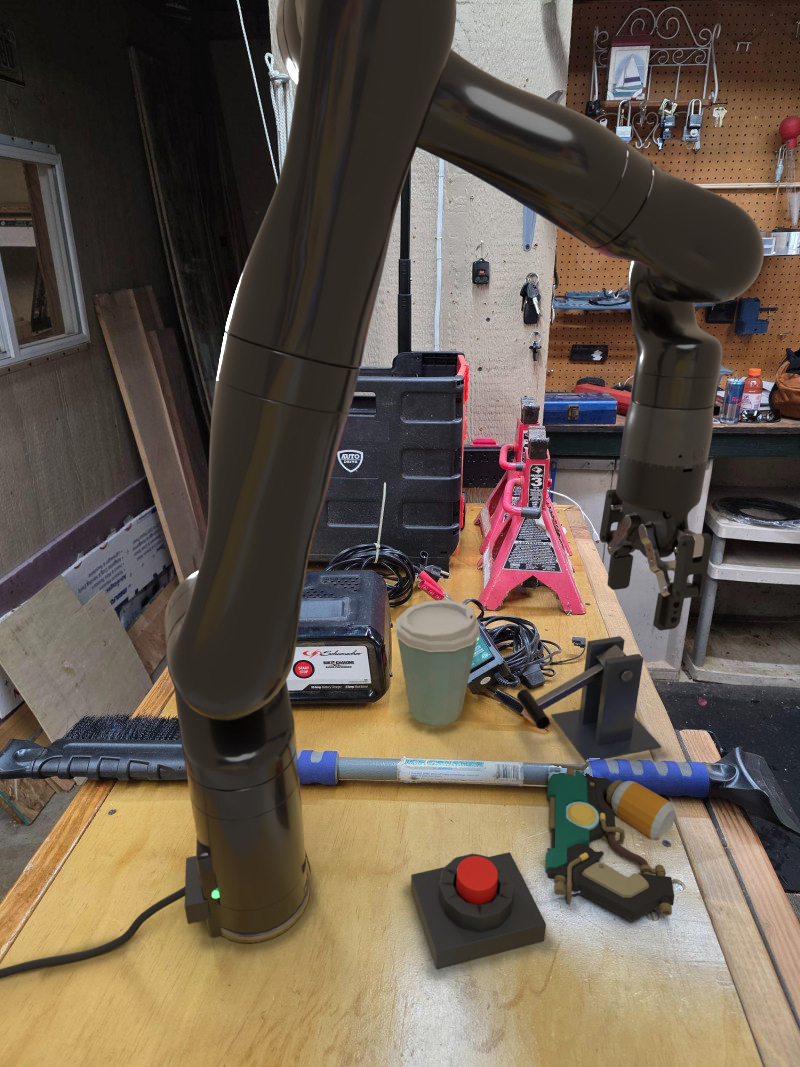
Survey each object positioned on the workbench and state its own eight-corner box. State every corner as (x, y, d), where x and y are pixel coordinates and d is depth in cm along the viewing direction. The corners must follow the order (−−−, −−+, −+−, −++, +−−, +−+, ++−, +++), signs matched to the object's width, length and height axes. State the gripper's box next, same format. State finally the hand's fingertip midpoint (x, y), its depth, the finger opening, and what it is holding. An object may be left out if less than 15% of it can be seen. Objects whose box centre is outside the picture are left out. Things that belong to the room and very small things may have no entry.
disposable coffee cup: (386, 734, 86) (384, 631, 80) (404, 685, 96) (403, 589, 90) (471, 746, 84) (475, 640, 78) (480, 694, 94) (484, 597, 88)
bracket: (584, 769, 80) (596, 677, 75) (550, 721, 88) (558, 635, 83) (660, 754, 83) (675, 663, 78) (619, 709, 91) (631, 624, 86)
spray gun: (665, 951, 60) (502, 888, 67) (690, 814, 73) (552, 772, 80) (669, 919, 58) (502, 857, 65) (694, 784, 72) (553, 743, 78)
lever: (540, 733, 79) (533, 719, 78) (520, 705, 84) (513, 691, 83) (639, 676, 79) (633, 661, 78) (613, 651, 84) (608, 637, 83)
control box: (436, 970, 58) (436, 937, 57) (410, 891, 65) (410, 860, 64) (544, 941, 61) (548, 909, 59) (508, 868, 68) (510, 837, 66)
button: (464, 908, 60) (465, 894, 59) (451, 874, 63) (451, 860, 62) (503, 899, 60) (504, 884, 60) (488, 866, 64) (488, 852, 63)
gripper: (588, 434, 68) (573, 580, 75) (674, 477, 56) (646, 648, 62) (655, 429, 70) (634, 573, 76) (753, 470, 57) (718, 638, 64)
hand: (640, 606), depth 69 cm, fingers open, 8 cm apart
